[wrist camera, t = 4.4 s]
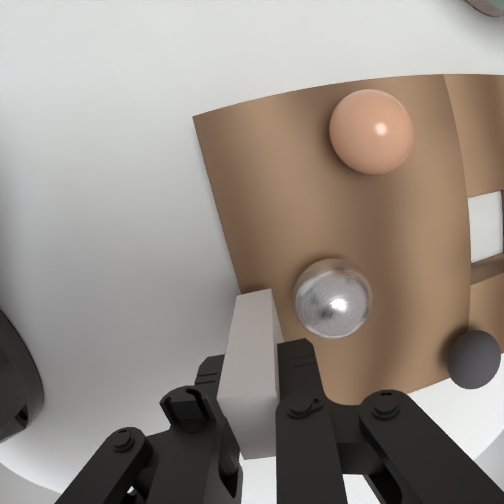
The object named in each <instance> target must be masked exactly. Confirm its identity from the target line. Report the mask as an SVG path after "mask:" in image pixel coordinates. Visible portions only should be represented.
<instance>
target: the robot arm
mask: <svg viewBox="0 0 504 504" xmlns="http://www.w3.org/2000/svg"><path fill="white" fill-rule="evenodd" d="M159 404H160V406H161V408H162V409H163V411H164V413H165V415H166V417H167V418H168V420H169V422H170V424H171V426H170V429H169V430H167V431H164V432H161V433H157V434H154V435H150V436H146V437H145V435H144V434H143V433H142V431H141V430H139V429H137V428H135V427H126V428H122V429H119V430H117V431H115V432H113V433H112V434H111V435H110V436H109V437H108V438H107V439H106V440H105V441H104V442H103V444H102V445H101V446H100V447H99V449H98V450H97V451H96V452H95V454H94V455H93V456H92V457H91V459H90V460H89V461H88V462H87V464H86V465H85V466H84V467H83V469H82V470H81V471H80V472H79V474H78V475H77V476H76V477H75V479H74V480H73V481H72V482H71V484H70V485H69V486H68V487H67V489H66V490H65V491H64V492H63V494H62V495H61V496H60V498H59V499H58V500H57V501H56V502H55V504H241V497H242V483H243V471H242V467H241V465H240V463H239V454H240V452H241V454H242V456H243V458H244V460H247V459H257V458H265V457H273V456H276V479H277V504H348V502H347V496H346V491H345V486H344V480H343V475H342V474H358V475H363V477H364V478H365V480H366V481H367V483H368V485H369V486H370V488H371V489H372V491H373V492H374V494H375V496H376V497H377V499H378V500H379V502H380V503H381V504H504V492H503V491H502V490H501V489H500V488H499V487H498V486H497V485H496V484H495V483H494V482H493V481H492V479H491V478H490V477H489V476H488V475H487V474H486V473H484V472H483V470H482V469H481V468H480V467H479V466H478V465H477V464H476V463H475V462H474V461H473V460H472V459H471V458H470V457H469V456H468V455H467V454H466V453H465V452H464V451H463V450H462V449H461V448H460V447H459V446H458V445H457V444H456V443H455V442H454V441H453V440H452V439H451V438H450V437H449V436H448V435H447V434H446V433H445V432H444V431H443V430H442V429H441V428H440V427H439V426H438V425H437V424H436V423H435V422H434V421H433V420H432V419H431V418H430V417H429V416H428V415H427V414H426V413H425V412H424V411H423V410H422V409H421V408H420V407H419V406H418V405H417V404H416V403H415V402H414V401H413V400H412V399H411V398H410V397H409V396H408V395H406V394H405V393H403V392H402V391H398V390H393V389H389V390H380V391H377V392H374V393H372V394H370V395H369V396H367V397H366V398H365V399H364V400H363V401H362V403H361V404H360V405H342V404H338V403H335V402H333V401H332V400H330V399H329V398H328V397H327V396H326V395H325V392H324V389H323V385H322V381H321V376H320V372H319V368H318V363H317V359H316V355H315V351H314V346H313V344H312V343H311V342H310V341H308V340H307V339H306V338H302V339H297V340H293V341H288V342H284V339H283V335H282V331H281V327H280V323H279V319H278V314H277V310H276V306H275V302H274V298H273V294H272V290H271V288H270V289H265V290H261V291H256V292H251V293H247V294H242V295H237V297H236V302H235V307H234V312H233V317H232V322H231V327H230V332H229V338H228V343H227V348H226V353H225V354H223V355H217V356H211V357H207V358H206V359H205V360H204V362H203V363H202V364H201V365H200V366H199V370H198V373H197V377H196V380H195V385H194V386H183V387H179V388H176V389H174V390H172V391H170V392H169V393H168V394H166V395H165V396H164V397H163V398H162V400H161V401H160V403H159ZM42 406H43V390H42V385H41V381H40V378H39V375H38V372H37V370H36V367H35V365H34V363H33V361H32V359H31V357H30V355H29V353H28V351H27V349H26V347H25V346H24V344H23V342H22V340H21V339H20V337H19V336H18V334H17V333H16V331H15V330H14V328H13V327H12V325H11V324H10V323H9V321H8V320H7V319H6V317H5V316H4V315H3V314H2V312H1V311H0V444H1V443H2V442H4V441H6V440H8V439H9V438H11V437H13V436H15V435H16V434H18V433H20V432H22V431H23V430H25V429H26V428H28V427H29V426H30V425H31V423H32V422H33V421H34V419H35V418H36V417H37V415H38V414H39V413H40V411H41V409H42ZM131 486H132V487H133V488H134V489H133V491H132V492H130V493H127V492H128V490H129V489H130V487H131Z"/></svg>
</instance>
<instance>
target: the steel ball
mask: <svg viewBox="0 0 504 504" xmlns="http://www.w3.org/2000/svg"><path fill="white" fill-rule="evenodd" d="M292 304H293V310H294V313H295V316H296V318H297V320H298V321H299V323H300V324H301V326H302V327H303V328H304V329H305V330H306V331H308V332H309V333H310V334H312V335H314V336H316V337H318V338H322V339H326V340H338V339H342V338H346V337H348V336H350V335H352V334H354V333H355V332H357V331H358V330H359V329H360V328H361V327H362V326H363V325H364V324H365V322H366V321H367V319H368V317H369V315H370V312H371V309H372V305H373V292H372V288H371V285H370V282H369V280H368V278H367V276H366V275H365V274H364V272H363V271H362V270H361V269H360V268H359V267H357V266H356V265H355V264H353V263H351V262H349V261H346V260H343V259H336V258H332V259H324V260H321V261H318V262H316V263H314V264H312V265H310V266H309V267H308V268H307V269H306V270H305V271H304V272H303V273H302V274H301V275H300V276H299V278H298V280H297V282H296V284H295V287H294V290H293V296H292Z"/></svg>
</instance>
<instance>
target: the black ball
mask: <svg viewBox="0 0 504 504" xmlns="http://www.w3.org/2000/svg"><path fill="white" fill-rule="evenodd" d="M500 360H501V352H500V348H499V345H498V343H497V341H496V339H495V338H494V337H493V336H492V335H491V334H489V333H487V332H485V331H481V330H473V331H469V332H467V333H464V334H463V335H461V336H460V337H459V338H458V339H457V340H456V341H455V342H454V343H453V345H452V346H451V348H450V351H449V354H448V358H447V369H448V373H449V375H450V377H451V379H452V380H453V381H454V383H455V384H457V385H458V386H460V387H462V388H465V389H477V388H480V387H482V386H484V385H486V384H487V383H488V382H489V381H491V380H492V378H493V377H494V376H495V374H496V373H497V371H498V368H499V365H500Z"/></svg>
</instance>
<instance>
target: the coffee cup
mask: <svg viewBox="0 0 504 504" xmlns="http://www.w3.org/2000/svg"><path fill="white" fill-rule="evenodd" d="M466 1H467V2H468V3H470V4H471V5H472V6H473V7H475V8H476V9H478V10H479V11H481V12H483V13H485V14H487V15H490V16H501V15H504V0H466Z"/></svg>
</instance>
